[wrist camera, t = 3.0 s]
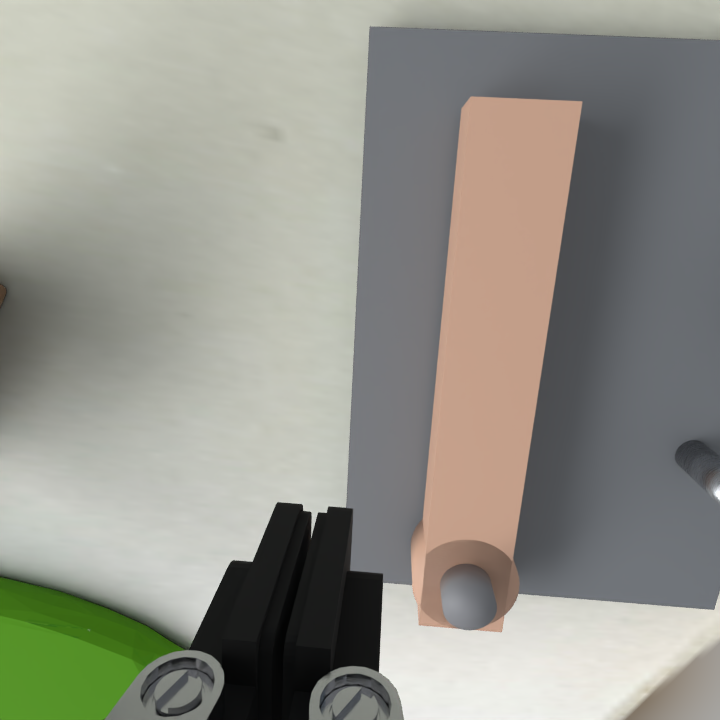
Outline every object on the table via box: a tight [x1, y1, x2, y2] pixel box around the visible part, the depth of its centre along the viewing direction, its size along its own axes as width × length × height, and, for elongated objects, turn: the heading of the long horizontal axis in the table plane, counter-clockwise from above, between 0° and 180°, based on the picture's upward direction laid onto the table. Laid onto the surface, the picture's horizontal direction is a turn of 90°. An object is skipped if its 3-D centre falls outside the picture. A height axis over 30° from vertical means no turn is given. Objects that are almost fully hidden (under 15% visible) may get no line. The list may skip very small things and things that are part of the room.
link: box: [411, 96, 582, 632], centre depth 24 cm, size 24×5×4 cm, turn 177°
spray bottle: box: [0, 577, 184, 720], centre depth 35 cm, size 3×11×24 cm
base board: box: [346, 27, 720, 610], centre depth 27 cm, size 27×20×2 cm
